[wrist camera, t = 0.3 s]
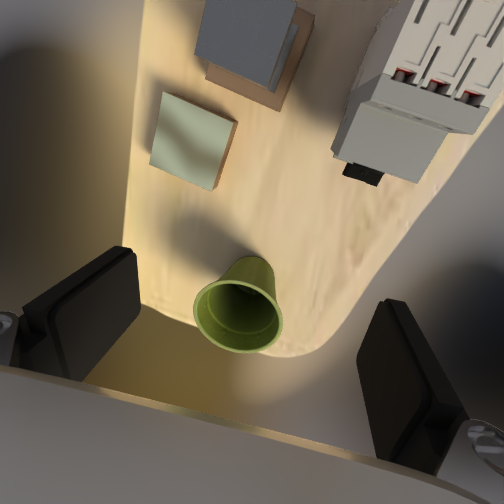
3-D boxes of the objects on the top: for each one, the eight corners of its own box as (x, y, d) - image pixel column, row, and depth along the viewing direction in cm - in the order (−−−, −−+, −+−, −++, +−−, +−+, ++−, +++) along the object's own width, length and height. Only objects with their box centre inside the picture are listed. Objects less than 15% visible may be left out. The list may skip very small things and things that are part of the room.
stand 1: (173, 93, 35) (163, 91, 32) (238, 122, 35) (232, 122, 32) (159, 161, 39) (149, 164, 36) (217, 186, 39) (210, 191, 36)
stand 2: (237, -10, 29) (230, -23, 26) (313, 24, 29) (314, 15, 27) (213, 82, 33) (205, 79, 31) (279, 112, 33) (277, 111, 31)
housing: (235, 0, 27) (214, -35, 21) (298, 29, 27) (296, 3, 21) (217, 67, 30) (194, 54, 24) (274, 93, 30) (266, 87, 24)
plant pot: (221, 234, 42) (196, 270, 32) (296, 252, 41) (293, 294, 31) (213, 294, 48) (189, 340, 38) (279, 311, 47) (272, 363, 37)
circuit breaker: (322, 159, 35) (333, 183, 22) (377, 23, 28) (441, -62, 15) (377, 177, 35) (422, 214, 22) (446, 45, 28) (572, -20, 15)
